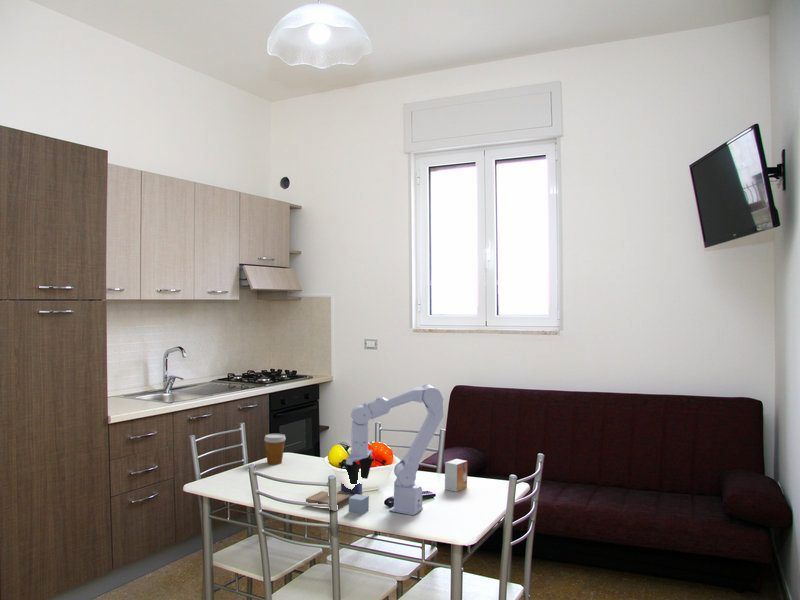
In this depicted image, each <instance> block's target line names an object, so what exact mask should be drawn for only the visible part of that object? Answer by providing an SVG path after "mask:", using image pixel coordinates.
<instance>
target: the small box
mask: <svg viewBox="0 0 800 600" xmlns="http://www.w3.org/2000/svg"><path fill="white" fill-rule="evenodd" d="M467 488H468V460H464V459H459V458H455V459H452V460H448V461H445V462H444V490H446V491H447V490H448V491H452V492H460V491H462V490H464V489H467Z"/></svg>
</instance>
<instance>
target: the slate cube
mask: <svg viewBox="0 0 800 600" xmlns="http://www.w3.org/2000/svg"><path fill="white" fill-rule="evenodd" d="M369 498H370V496H369V495H365V494H361V495H359V494H353V495H352V496H350V498H349V504H348V513H350V514H355V515H359V516H360V515H361V516H362V515H364V514H365V513H367V512H368V511H369V509H370V508H369V507H370V506H369V504H370V503H369V501H370V499H369Z"/></svg>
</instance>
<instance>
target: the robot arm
mask: <svg viewBox="0 0 800 600" xmlns="http://www.w3.org/2000/svg"><path fill="white" fill-rule="evenodd" d="M410 402H415V403H419V404H420V403H421V404H424V407H425V410H426V412H427V416H426V417H425V420H424V421H423V422H422V425H421V426H420V428H419V431H418V432H417V434H416V436H415V438H414V440H413V441H412V444H411V445H410V447H409V449H408V450H407V453H405V455H403V457H402V458H401V460H400V461H399V462H397V464H395V466H394V469H393V473H394V475H395V477H396V478H395V480H394V482H393V483H394V485H393V486H394V488H393V506H392V507H391V508H389V509H388V510H389V512H394V513H399V514H406V515H409V516H415V515H416V514H418V513H419V512H420V511H422V510H423V509H424V507H423V488H422V487H421V486H419V485H417V484H416V482H415V481H416V480H417V479H416V477H417V473H418V471H419V470H418V469H419V467H420V466H419V465H420V461H421V459H422V458H423V456H424V453H425V452H426V450H427V448H428V446H429V444H430V443H431V441H432V439H433V437H434V435H435V433H436V431H437V429H438V427H439V425H440V423H442V420H443V418H444V397H443V395H442V393H441V391H440V390H439V389H438V388H436V387H435V386H434V385H432V384H428V383H427V384H424V385H422V386H421V385H420V386H416V387H414V388H410V389H409V390H406V391H404V392H402V393H399V394H397V395H394V396H392V397H389V398H385V397H379V396H378V397H375V400H373V401H369V402H368V403H366V402H363V403H362V405H359V404H358V405H356V406H354V407H353V408H352V410H351V413H350V417H351V418H352V420H351V421H352V422H351V449H350V450H351V452H348V457H347V458H346V459H345V462H344V464H343V465H344V466H343V467H345V468H346V470H347V472H348V475H349V479H350V483H351V484H357V480H358V472H359V469H361V477H362V479H368V478H369V474H370V470H371V467H372V464H373V463H374V461H375V457H374V456H373V449H369V426H368V425H369V423H368V422H369V421H370V420H374V419H376V418H379V417H382V416H384V415H388V414H389V413H390V411H391V409H392V408H395V407H400V406H402V405H406V404H408V403H410ZM357 462H358V463H357Z"/></svg>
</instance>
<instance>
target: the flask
mask: <svg viewBox="0 0 800 600" xmlns="http://www.w3.org/2000/svg"><path fill="white" fill-rule="evenodd" d="M342 468H345V466H342V467H341V469H342ZM340 487H341V488H340V491H341V492H342V493H345V494H346V493H347V494H352V495H355V494H359V495H363V483H362V484H360V483H359V484H357V485H355V487H354V488H353V489H352V490H351V489H348V488H346V487H345V486H344V484H342V483H341V482H340Z"/></svg>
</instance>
